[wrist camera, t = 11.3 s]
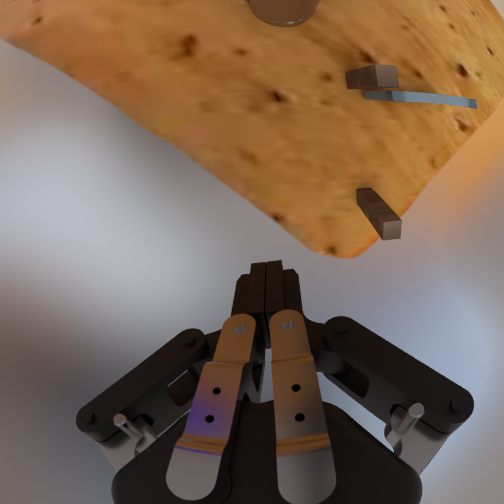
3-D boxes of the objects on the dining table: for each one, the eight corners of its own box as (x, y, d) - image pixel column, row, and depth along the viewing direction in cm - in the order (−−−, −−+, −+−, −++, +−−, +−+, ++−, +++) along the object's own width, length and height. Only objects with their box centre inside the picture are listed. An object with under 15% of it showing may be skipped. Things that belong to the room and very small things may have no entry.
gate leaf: (365, 99, 31) (393, 101, 23) (364, 91, 31) (392, 90, 22) (439, 102, 29) (476, 108, 21) (439, 94, 29) (476, 99, 20)
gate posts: (345, 72, 31) (374, 64, 20) (361, 72, 30) (395, 65, 20) (357, 203, 41) (382, 240, 31) (371, 202, 41) (400, 238, 31)
